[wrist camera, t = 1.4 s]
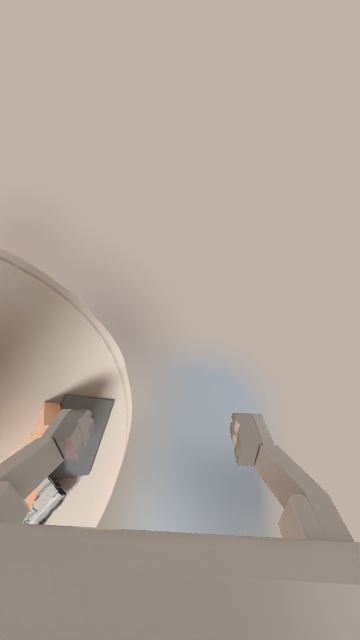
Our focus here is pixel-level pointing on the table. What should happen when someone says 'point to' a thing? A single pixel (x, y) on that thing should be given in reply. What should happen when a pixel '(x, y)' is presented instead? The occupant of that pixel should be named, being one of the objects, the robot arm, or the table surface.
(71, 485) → the table surface
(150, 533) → the robot arm
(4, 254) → the table surface
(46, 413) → the orange block
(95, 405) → the mat
